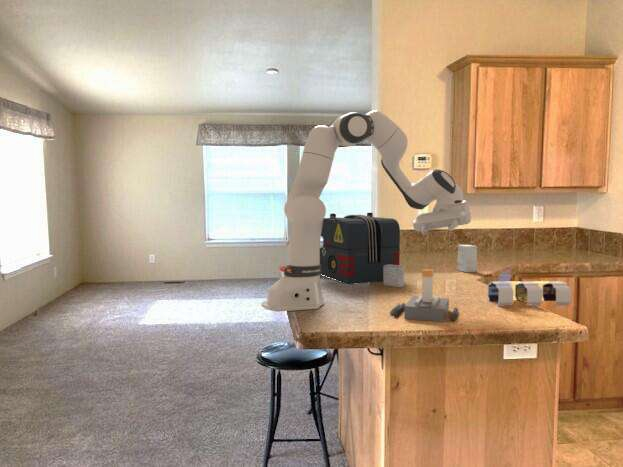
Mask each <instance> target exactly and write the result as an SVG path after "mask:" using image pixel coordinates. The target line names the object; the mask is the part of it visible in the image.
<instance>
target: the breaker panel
mask: <svg viewBox="0 0 623 467" xmlns="http://www.w3.org/2000/svg"><path fill="white" fill-rule="evenodd" d="M449 303H450V298H447V297H441V296H440V295H438V296H437V295H436V296H433V301H432V303H431V302H422V294H420V295H418V296H417V295H412V296H411V298H410V299H409V300H408V301H407V303H405V304H406V305H405V307H404V312H403V313H404V318H405V319H406V320H417V321H430V322H439V323H444V322H445V320H446V318H447V315H448V313H449V310H450V304H449Z"/></svg>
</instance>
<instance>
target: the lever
mask: <svg viewBox="0 0 623 467" xmlns="http://www.w3.org/2000/svg"><path fill="white" fill-rule="evenodd" d="M421 272H422V273H421V276H422V279H421V280H422V281H421V282H422V287H421V289H422V290H421V291H422V294H421V295H422V302H431V303H432V301H433V297H434V272H435V270H434V269H433V268H432V269H431V268H428V269H427V268H423V269H422V270H421Z"/></svg>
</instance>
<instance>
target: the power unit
mask: <svg viewBox="0 0 623 467" xmlns="http://www.w3.org/2000/svg"><path fill="white" fill-rule="evenodd" d="M400 229H401V227H400V224H399V222H398V220H397V219H395V218H390V217H387V218H386V217H375V216H374V213H373V212H367V213H366V215H365V214H348V215H345V216H343V217H337V214H336V213H330V214H329V217H324V219H323V225H322V232H321V237H322V246H321V247H320V264H321V274H322V275H325V276H327V277H330V278H333V279H336V280H338V281H341V282H344V283H346V284H345V285H347V284H349V285H355V284H354V283H359V284H367V283H368V282H369V283H378V282H379V283H380V282H383V266H384V265H388V264H390V265H400V263H401V262H400V257H401V256H400V253H401V252H400V251H401V250H400V248H401V247H400V246H401V245H400V244H401V242H400V240H401V239H400V236H401V235H400V234H401V230H400ZM338 281H337V282H338ZM341 282H340V283H341ZM344 283H343V284H344Z"/></svg>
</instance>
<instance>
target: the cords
mask: <svg viewBox="0 0 623 467" xmlns="http://www.w3.org/2000/svg"><path fill="white" fill-rule="evenodd" d="M406 304H407V303H405V302H403V303H400V302H397V303H396V304H395V305H394V307H393V308H392V309H390V311H389V314H390V315H393V316H394V317H395V318H397V317H398V316H399V315H400V314H401V312H402V311H404V309H405V305H406ZM458 312H459V308H458V307H454V308H453V311H452V313H451V315H450V320H451V321H455V320H456V319H457V315H458Z"/></svg>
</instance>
